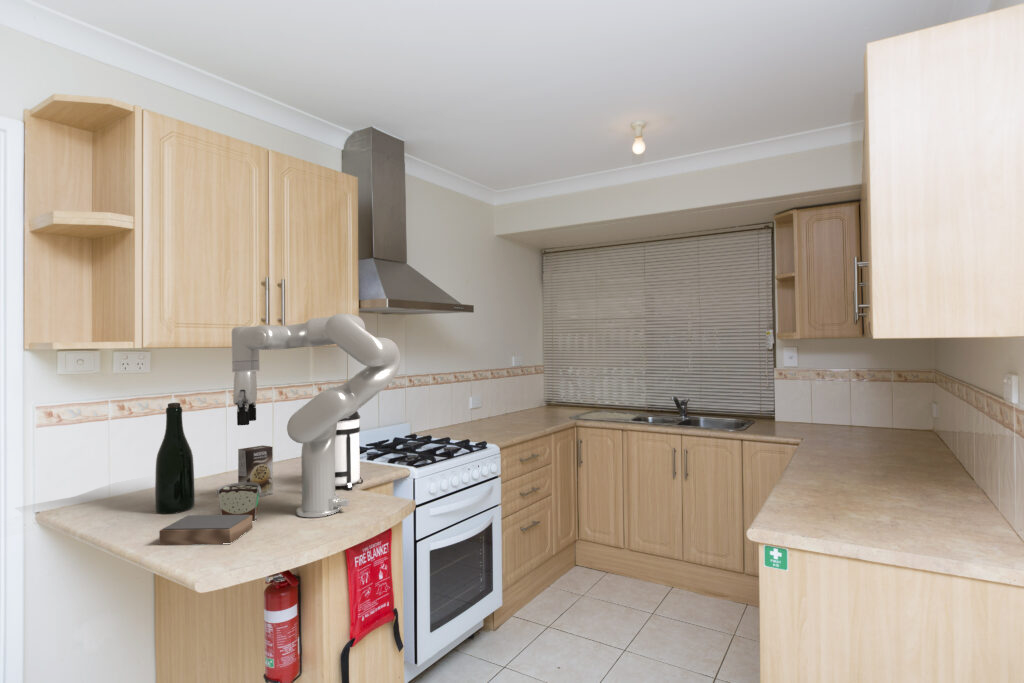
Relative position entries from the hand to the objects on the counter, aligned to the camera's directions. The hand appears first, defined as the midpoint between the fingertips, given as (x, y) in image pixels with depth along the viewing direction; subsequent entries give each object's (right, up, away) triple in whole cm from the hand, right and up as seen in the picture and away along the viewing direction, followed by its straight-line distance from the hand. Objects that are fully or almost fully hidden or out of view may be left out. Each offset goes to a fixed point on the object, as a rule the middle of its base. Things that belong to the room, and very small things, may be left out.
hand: (247, 422), depth 171 cm
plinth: (+1, -27, -23) cm, 35 cm away
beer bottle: (-23, -27, +2) cm, 36 cm away
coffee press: (+21, -27, +26) cm, 43 cm away
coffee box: (-5, -27, +17) cm, 32 cm away
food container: (+3, -27, -8) cm, 28 cm away
